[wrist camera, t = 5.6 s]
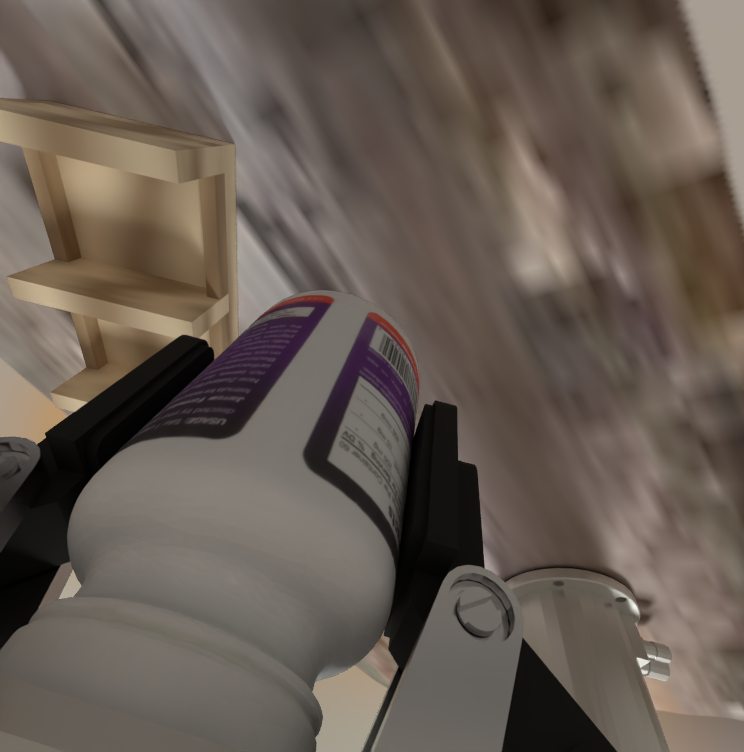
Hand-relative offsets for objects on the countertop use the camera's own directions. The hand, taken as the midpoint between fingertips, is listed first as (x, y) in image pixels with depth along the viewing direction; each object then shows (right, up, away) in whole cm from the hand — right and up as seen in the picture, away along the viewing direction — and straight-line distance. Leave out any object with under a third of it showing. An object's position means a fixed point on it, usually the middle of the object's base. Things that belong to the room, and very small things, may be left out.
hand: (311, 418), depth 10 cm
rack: (-12, +7, +14) cm, 20 cm away
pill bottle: (0, +1, +2) cm, 3 cm away
